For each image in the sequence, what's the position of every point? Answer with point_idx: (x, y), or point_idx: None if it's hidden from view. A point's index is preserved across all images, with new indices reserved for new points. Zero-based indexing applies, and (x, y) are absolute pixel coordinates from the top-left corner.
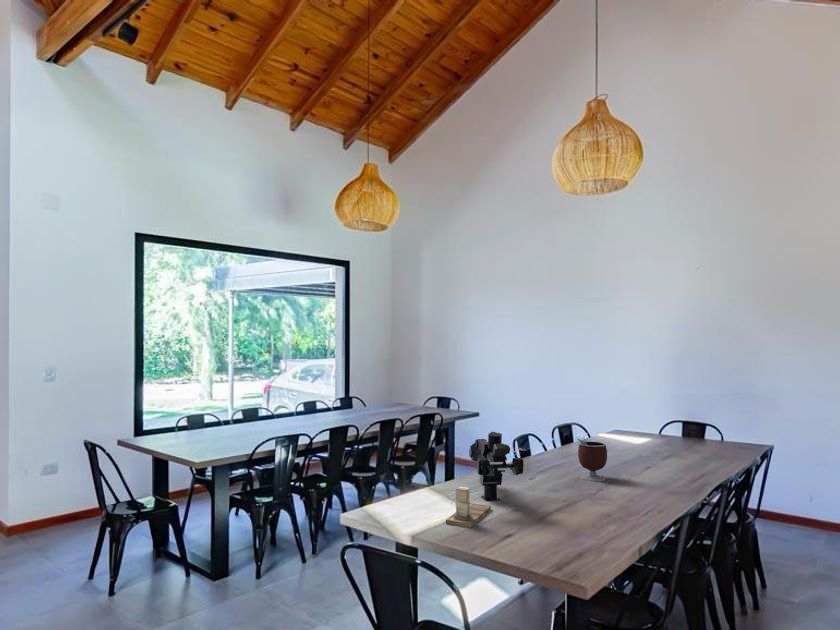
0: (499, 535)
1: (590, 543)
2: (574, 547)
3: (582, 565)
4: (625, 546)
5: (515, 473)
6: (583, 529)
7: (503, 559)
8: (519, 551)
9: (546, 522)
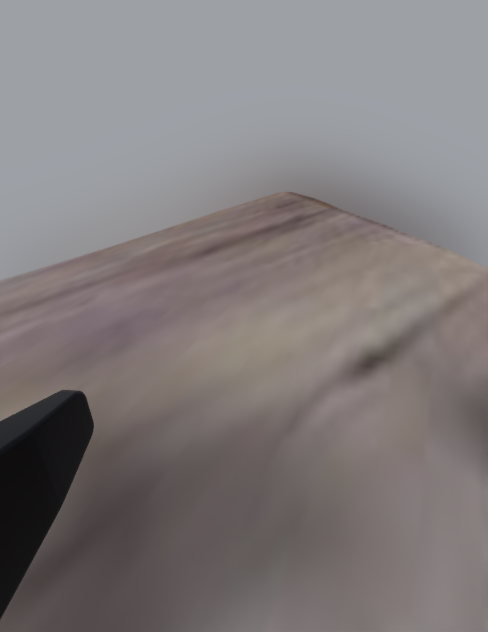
0: (414, 368)
1: (129, 286)
2: (193, 274)
3: (241, 224)
4: (65, 268)
5: (34, 514)
6: (34, 367)
7: (419, 247)
8: (362, 270)
9: (99, 474)
